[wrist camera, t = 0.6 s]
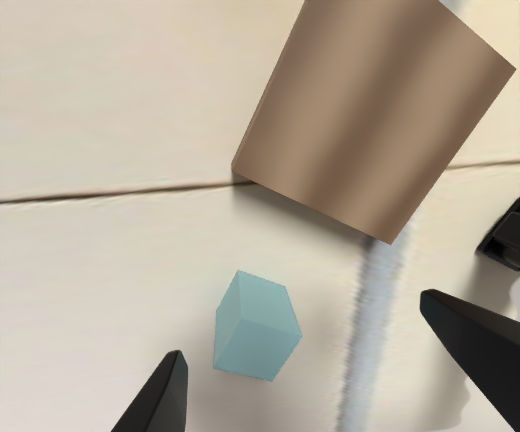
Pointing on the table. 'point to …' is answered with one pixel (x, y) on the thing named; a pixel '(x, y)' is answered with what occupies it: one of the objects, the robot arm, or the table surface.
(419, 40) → the plinth
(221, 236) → the table surface
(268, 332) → the teal block
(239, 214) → the table surface
